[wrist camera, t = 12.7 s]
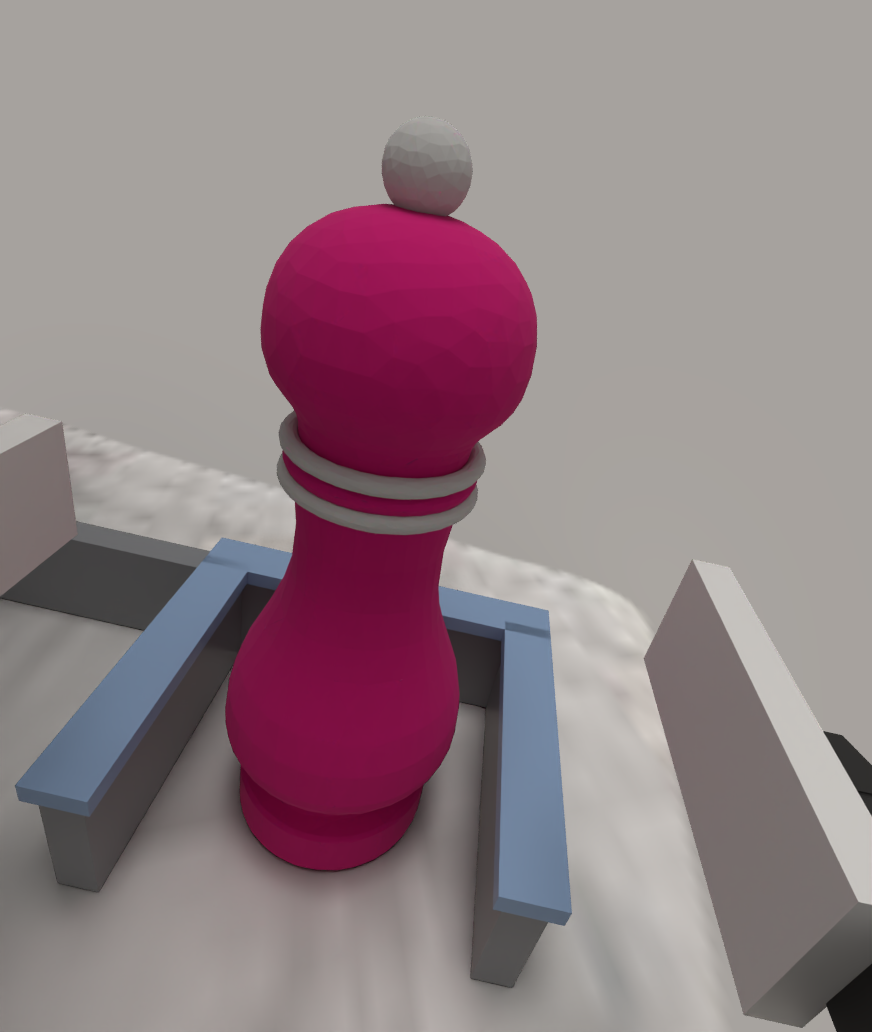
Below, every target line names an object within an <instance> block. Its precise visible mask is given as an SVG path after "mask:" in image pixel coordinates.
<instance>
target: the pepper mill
mask: <svg viewBox="0 0 872 1032" xmlns="http://www.w3.org/2000/svg"><path fill="white" fill-rule="evenodd" d="M472 172H473V171H472V161H471V156H470V150H469V148H468V146H467V144H466V142H465V140H464V138H463V136H462V135H461V134H460V133H459V132H458V131H457V130H456V129H455V128H454V127H453V126H452V125H451V124H450V123H448V122H447V121H445V120H442V119H438V118H434V117H430V116H424V117H417V118H414V119H411V120H409V121H407V122H405V123H403V124H402V125H401V126H400V127H399V128H398V129H397V130H396V131H395V132H394V134H393V135H392V136H391V137H390V139H389V140H388V142H387V144H386V147H385V151H384V154H383V159H382V176H383V181H384V186H385V189H386V191H387V194H388V196H389V198H390V199H391V201H392V202H393V203H394V205H392V204H378V205H368V206H358V207H352V208H348V209H344V210H340V211H336V212H333V213H330V214H328V215H327V216H325V217H323V218H321V219H320V220H318V221H316V222H314V223H313V224H311V225H309V226H307V227H306V228H305V229H304V230H303V231H302V232H301V233H300V234H298V235H297V236H296V237H295V238H294V239H293V240H292V241H291V242H290V243H289V244H288V246H287V247H286V249H285V250H284V252H283V253H282V255H281V256H280V257H279V259H278V260H277V262H276V264H275V267H274V269H273V272H272V274H271V277H270V279H269V282H268V285H267V288H266V292H265V297H264V303H263V310H262V320H261V346H262V351H263V354H264V358H265V361H266V364H267V367H268V371H269V374H270V376H271V378H272V379H273V381H274V383H275V384H276V386H277V387H278V388H279V390H280V391H281V392H282V394H283V395H284V396H285V397H286V399H287V400H288V401H289V403H290V404H291V405H292V407H293V409H294V411H293V412H292V413H291V414H289V415H288V416H287V417H286V418H285V419H284V421H283V422H282V423H281V426H280V430H279V439H280V445H281V447H282V449H283V451H282V454H281V456H280V458H279V461H278V464H277V476H278V479H279V482H280V485H281V486H282V488H283V489H284V491H285V492H286V493H287V494H288V495H289V497H290V498H291V499H293V500H294V501H295V512H296V529H295V536H294V544H293V552H292V557H291V559H290V562H289V564H288V567H287V570H286V572H285V575H284V577H283V579H282V580H281V582H280V584H279V585H278V587H277V589H276V590H275V592H274V594H273V595H272V597H271V599H270V600H269V601H268V603H267V604H266V606H265V607H264V609H263V610H262V611H261V613H260V614H259V616H258V617H257V618H256V620H255V621H254V623H253V624H252V626H251V627H250V629H249V631H248V633H247V635H246V637H245V639H244V641H243V643H242V645H241V647H240V650H239V652H238V654H237V656H236V659H235V662H234V665H233V668H232V672H231V675H230V678H229V685H228V692H227V699H226V706H225V716H226V727H227V732H228V737H229V740H230V743H231V746H232V749H233V752H234V754H235V755H236V757H237V759H238V761H239V762H240V764H241V769H240V802H241V806H242V811H243V814H244V817H245V819H246V822H247V824H248V826H249V827H250V829H251V831H252V833H253V834H254V835H255V836H256V838H257V839H258V840H259V841H260V842H261V844H263V845H264V846H265V847H266V848H267V849H268V850H269V851H270V852H272V853H273V854H275V855H276V856H278V857H279V858H281V859H283V860H285V861H287V862H289V863H291V864H293V865H297V866H300V867H305V868H310V869H315V870H341V869H346V868H351V867H356V866H359V865H361V864H364V863H367V862H370V861H372V860H374V859H376V858H377V857H379V856H380V855H382V854H383V853H385V852H386V851H388V850H389V849H390V848H391V847H392V846H393V845H394V844H395V843H396V842H397V841H398V840H399V839H400V838H401V837H402V836H403V834H404V833H405V831H406V830H407V828H408V827H409V825H410V824H411V822H412V821H413V818H414V816H415V813H416V811H417V808H418V804H419V800H420V797H421V793H422V789H423V785H424V784H425V783H426V782H427V781H428V780H429V779H430V777H431V776H432V775H433V774H434V773H435V771H436V770H437V769H438V768H439V766H440V765H441V763H442V761H443V759H444V758H445V756H446V754H447V752H448V750H449V748H450V745H451V742H452V738H453V735H454V732H455V726H456V720H457V715H458V709H459V695H460V693H459V683H458V673H457V665H456V658H455V655H454V652H453V648H452V645H451V642H450V639H449V636H448V632H447V629H446V626H445V623H444V620H443V616H442V612H441V608H440V604H439V578H440V572H441V565H442V559H443V552H444V549H445V546H446V543H447V540H448V537H449V534H450V531H451V528H452V525H453V524H455V523H457V522H459V521H461V520H462V519H463V518H464V517H466V516H467V515H468V514H469V513H470V512H471V511H472V509H473V508H474V506H475V504H476V501H477V494H478V492H477V491H478V489H477V485H476V483H477V480H478V479H479V478H480V477H481V475H482V474H483V472H484V468H485V464H486V458H485V454H484V452H483V449H482V446H481V445H480V443H479V442H478V441H479V440H480V439H482V438H483V437H485V436H486V435H487V434H489V433H490V432H492V431H493V430H494V429H496V428H498V427H499V426H501V424H503V422H505V421H506V420H507V419H508V418H509V416H511V415H512V414H513V413H514V411H515V409H516V408H517V406H518V405H519V403H520V402H521V400H522V398H523V396H524V393H525V390H526V388H527V385H528V382H529V380H530V378H531V374H532V369H533V363H534V358H535V353H536V347H537V317H536V311H535V307H534V302H533V298H532V294H531V292H530V289H529V288H528V285H527V283H526V281H525V280H524V277H523V276H522V274H521V272H520V270H519V269H518V267H517V265H516V263H515V262H514V261H513V260H512V259H511V258H510V257H509V256H508V255H507V254H506V253H505V251H504V250H503V249H502V248H501V247H500V246H499V245H498V244H497V243H496V242H494V241H493V240H491V239H490V238H489V237H487V236H486V235H484V234H483V233H482V232H480V231H478V230H477V229H475V228H473V227H471V226H469V225H468V224H466V223H464V222H462V221H460V220H457V219H454V218H452V217H450V216H448V215H449V214H451V213H452V212H454V211H455V210H456V209H457V208H458V207H459V206H460V205H461V203H462V202H463V200H464V199H465V197H466V195H467V192H468V190H469V188H470V184H471V178H472Z"/></svg>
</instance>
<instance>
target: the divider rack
mask: <svg viewBox="0 0 872 1032" xmlns="http://www.w3.org/2000/svg"><path fill="white" fill-rule="evenodd" d="M76 526H77V533H78V534H77V535H76V536H75V537H74V538H72V539H71V540H70V541H69V542H67V543H66V544H65V545H64V546H62V547H61V548H60V549H59V550H57V551H56V552H55V553H54V554H52V555H51V556H50V557H49V558H47V559H46V560H45V561H44V562H42V563H41V564H40V565H39V566H37V567H36V568H35V569H34V570H33V571H31V572H30V573H29V574H28V575H26V576H25V577H24V578H23V579H21V580H20V581H19V582H18V583H16V584H15V585H14V586H13V587H11V588H10V589H9V590H8V591H6V592H5V593H4V594H3V595H1V596H0V598H4V599H8V600H12V601H17V602H21V603H26V604H30V605H35V606H39V607H43V608H48V609H52V610H57V611H61V612H66V613H70V614H74V615H79V616H83V617H88V618H92V619H97V620H101V621H105V622H110V623H114V624H119V625H123V626H128V627H132V628H136V629H141V630H144V632H143V633H142V634H141V635H140V636H139V638H138V639H137V640H136V641H135V642H134V644H133V645H132V646H131V647H130V648H129V650H128V651H127V652H126V653H125V654H124V656H123V657H122V658H121V659H120V660H119V662H118V663H117V664H116V665H115V666H114V668H113V669H112V670H111V671H110V672H109V674H108V675H107V676H106V677H105V678H104V680H103V681H102V682H101V683H100V684H99V686H98V687H97V688H96V689H95V690H94V692H93V693H92V694H91V695H90V696H89V698H88V699H87V700H86V701H85V702H84V704H83V705H82V706H81V707H80V708H79V710H78V711H77V712H76V713H75V714H74V716H73V717H72V718H71V719H70V720H69V721H68V723H67V724H66V725H65V726H64V727H63V729H62V730H61V731H60V732H59V733H58V735H57V736H56V737H55V738H54V739H53V741H52V742H51V743H50V744H49V745H48V747H47V748H46V749H45V750H44V751H43V753H42V754H41V755H40V756H39V757H38V759H37V760H36V761H35V762H34V763H33V765H32V766H31V767H30V768H29V769H28V771H27V772H26V773H25V774H24V775H23V777H22V778H21V779H20V780H19V781H18V783H17V784H16V785H15V788H16V791H17V795H18V799H19V801H22V802H27V803H31V804H35V805H39V809H40V813H41V817H42V821H43V825H44V829H45V833H46V837H47V842H48V846H49V850H50V854H51V858H52V862H53V866H54V870H55V874H56V878H57V882H58V883H61V884H65V885H69V886H74V887H78V888H82V889H87V890H91V891H95V892H99V891H100V889H101V887H102V886H103V884H104V882H105V881H106V879H107V877H108V876H109V874H110V872H111V870H112V869H113V867H114V865H115V864H116V862H117V860H118V859H119V857H120V855H121V854H122V852H123V850H124V848H125V847H126V845H127V843H128V842H129V840H130V838H131V837H132V835H133V833H134V831H135V830H136V828H137V826H138V825H139V823H140V821H141V820H142V818H143V816H144V815H145V813H146V811H147V809H148V808H149V806H150V804H151V803H152V801H153V799H154V798H155V796H156V794H157V793H158V791H159V789H160V787H161V786H162V784H163V782H164V781H165V779H166V777H167V776H168V774H169V772H170V771H171V769H172V767H173V765H174V764H175V762H176V760H177V759H178V757H179V755H180V754H181V752H182V750H183V748H184V747H185V745H186V743H187V742H188V740H189V738H190V737H191V735H192V733H193V732H194V730H195V728H196V726H197V725H198V723H199V721H200V720H201V718H202V716H203V715H204V713H205V711H206V710H207V708H208V706H209V704H210V703H211V701H212V699H213V698H214V696H215V694H216V693H217V691H218V689H219V688H220V686H221V684H222V682H223V681H224V679H225V677H226V676H227V674H228V672H229V671H230V669H231V667H232V665H233V664H234V662H235V659H236V656H237V654H238V652H239V650H240V647H241V645H242V643H243V641H244V639H245V637H246V635H247V633H248V631H249V629H250V627H251V626H252V624H253V623H254V621H255V620H256V618H257V617H258V616H259V614H260V613H261V611H262V610H263V609H264V607H265V606H266V604H267V603H268V601H269V600H270V599H271V597H272V595H273V594H274V592H275V590H276V589H277V587H278V585H279V584H280V582H281V580H282V579H283V577H284V575H285V572H286V570H287V567H288V564H289V562H290V559H291V557H292V553H289V552H284V551H280V550H275V549H271V548H266V547H262V546H258V545H253V544H249V543H244V542H240V541H235V540H231V539H226V538H221V539H220V541H219V542H218V543H217V544H216V545H215V547H214V548H213V549H212V550H211V551H206V550H202V549H197V548H193V547H188V546H184V545H180V544H175V543H171V542H166V541H162V540H157V539H153V538H148V537H144V536H139V535H135V534H131V533H126V532H122V531H117V530H113V529H108V528H104V527H99V526H95V525H90V524H86V523H81V522H77V521H76ZM439 604H440V608H441V612H442V616H443V620H444V623H445V626H446V629H447V632H448V636H449V639H450V642H451V645H452V648H453V652H454V655H455V658H456V665H457V673H458V683H459V693H460V695H459V701H460V702H464V703H468V704H473V705H477V706H482V707H486V717H485V734H484V752H483V769H482V787H481V804H480V822H479V839H478V857H477V874H476V892H475V909H474V927H473V944H472V962H471V978H472V979H477V980H481V981H485V982H490V983H494V984H498V985H503V986H507V987H511V988H512V987H513V985H514V983H515V982H516V980H517V978H518V976H519V974H520V972H521V971H522V969H523V967H524V965H525V963H526V961H527V960H528V958H529V956H530V954H531V952H532V950H533V949H534V947H535V945H536V943H537V941H538V939H539V938H540V936H541V934H542V932H543V930H544V928H545V927H546V925H547V923H548V922H550V923H554V924H558V925H563V926H565V924H566V922H567V921H568V919H569V917H570V915H571V914H572V910H571V897H570V884H569V871H568V858H567V845H566V832H565V819H564V806H563V793H562V780H561V767H560V754H559V741H558V728H557V715H556V702H555V689H554V676H553V663H552V650H551V637H550V624H549V611H548V610H543V609H539V608H534V607H530V606H525V605H521V604H516V603H512V602H508V601H503V600H499V599H494V598H490V597H485V596H481V595H476V594H472V593H467V592H463V591H458V590H454V589H450V588H445V587H441V586H439Z"/></svg>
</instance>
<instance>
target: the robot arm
mask: <svg viewBox="0 0 872 1032" xmlns="http://www.w3.org/2000/svg"><path fill="white" fill-rule="evenodd" d="M77 534H78V533H77V526H76V519H75V512H74V504H73V497H72V490H71V483H70V476H69V468H68V461H67V454H66V447H65V439H64V432H63V425H62V421H57V420H53V419H49V418H44V417H39V416H35V415H30V414H26V413H25V414H23V415H21V416H19V417H17V418H15V419H13V420H10V421H8V422H6V423H4V424H2V425H0V596H1V595H3V594H4V593H5V592H6V591H8V590H9V589H10V588H11V587H13V586H14V585H15V584H16V583H18V582H19V581H20V580H21V579H23V578H24V577H25V576H26V575H28V574H29V573H30V572H31V571H33V570H34V569H35V568H36V567H37V566H39V565H40V564H41V563H42V562H44V561H45V560H46V559H47V558H49V557H50V556H51V555H52V554H54V553H55V552H56V551H57V550H59V549H60V548H61V547H62V546H64V545H65V544H66V543H67V542H69V541H70V540H71V539H72V538H74V537H75V536H76V535H77ZM644 661H645V664H646V668H647V672H648V675H649V679H650V682H651V686H652V689H653V693H654V696H655V700H656V704H657V707H658V711H659V714H660V718H661V721H662V725H663V729H664V732H665V736H666V739H667V743H668V746H669V750H670V754H671V757H672V761H673V764H674V768H675V771H676V775H677V778H678V782H679V786H680V789H681V793H682V796H683V800H684V803H685V807H686V811H687V814H688V818H689V821H690V825H691V828H692V832H693V836H694V839H695V843H696V846H697V850H698V853H699V857H700V860H701V864H702V868H703V871H704V875H705V878H706V882H707V885H708V889H709V893H710V896H711V900H712V903H713V907H714V910H715V914H716V917H717V921H718V925H719V928H720V932H721V935H722V939H723V942H724V946H725V949H726V953H727V956H728V960H729V964H730V967H731V971H732V975H733V978H734V981H735V985H736V988H737V992H738V996H739V999H740V1003H741V1007H742V1010H743V1014H744V1015H747V1016H751V1017H755V1018H760V1019H765V1020H769V1021H774V1022H778V1023H782V1024H787V1025H791V1026H796V1027H800V1028H803V1027H804V1026H805V1025H806V1024H807V1023H808V1022H809V1021H811V1020H812V1019H813V1018H814V1017H815V1016H816V1015H818V1013H820V1012H821V1011H822V1010H823V1009H825V1008H826V1007H827V1008H828V1011H829V1013H830V1016H831V1018H832V1021H833V1024H834V1026H835V1029H836V1031H837V1032H872V765H871V764H870V763H869V762H868V761H867V760H866V759H865V758H864V757H863V756H862V755H861V754H860V753H859V752H858V751H857V750H856V749H855V748H854V747H853V746H852V745H851V744H850V743H849V742H848V741H847V740H846V739H845V738H844V737H843V736H842V735H838V734H833V733H829V732H825V731H822V729H821V727H820V725H819V724H818V722H817V720H816V718H815V716H814V715H813V713H812V711H811V709H810V708H809V706H808V704H807V702H806V701H805V699H804V697H803V695H802V694H801V692H800V690H799V688H798V687H797V685H796V683H795V681H794V680H793V678H792V676H791V674H790V673H789V671H788V669H787V668H786V666H785V664H784V662H783V660H782V659H781V657H780V655H779V653H778V652H777V650H776V648H775V646H774V645H773V643H772V641H771V639H770V638H769V636H768V634H767V632H766V631H765V629H764V627H763V625H762V624H761V622H760V620H759V618H758V617H757V615H756V613H755V611H754V610H753V608H752V606H751V605H750V603H749V601H748V599H747V597H746V596H745V594H744V592H743V591H742V589H741V587H740V585H739V583H738V582H737V580H736V578H735V577H734V575H733V573H732V571H731V569H730V568H729V567H726V566H721V565H717V564H712V563H707V562H703V561H698V560H694V559H692V561H691V563H690V565H689V567H688V569H687V571H686V573H685V575H684V578H683V579H682V581H681V583H680V585H679V587H678V589H677V592H676V594H675V596H674V598H673V600H672V602H671V604H670V606H669V608H668V610H667V612H666V614H665V616H664V618H663V620H662V622H661V624H660V626H659V628H658V631H657V633H656V635H655V637H654V639H653V641H652V643H651V645H650V647H649V649H648V651H647V653H646V655H645V657H644Z"/></svg>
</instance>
